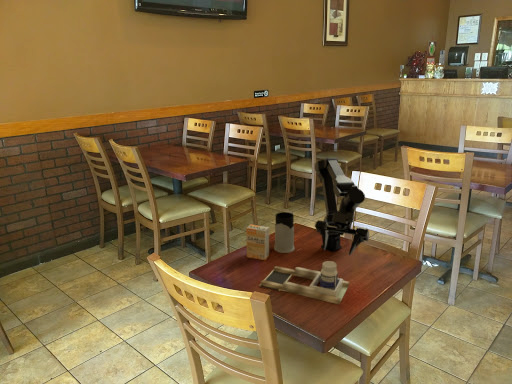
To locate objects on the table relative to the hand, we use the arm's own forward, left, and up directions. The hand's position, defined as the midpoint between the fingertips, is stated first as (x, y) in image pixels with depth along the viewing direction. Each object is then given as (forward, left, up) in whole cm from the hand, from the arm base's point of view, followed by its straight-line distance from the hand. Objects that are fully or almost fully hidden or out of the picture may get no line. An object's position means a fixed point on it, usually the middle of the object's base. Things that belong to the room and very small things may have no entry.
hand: (336, 252), depth 139 cm
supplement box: (-32, -11, -11) cm, 36 cm away
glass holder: (-33, +5, -11) cm, 36 cm away
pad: (+5, -6, -11) cm, 14 cm away
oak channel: (-4, -11, -11) cm, 16 cm away
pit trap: (-13, -16, -11) cm, 24 cm away
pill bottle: (+3, -7, -11) cm, 13 cm away
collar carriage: (+3, -7, -11) cm, 14 cm away
